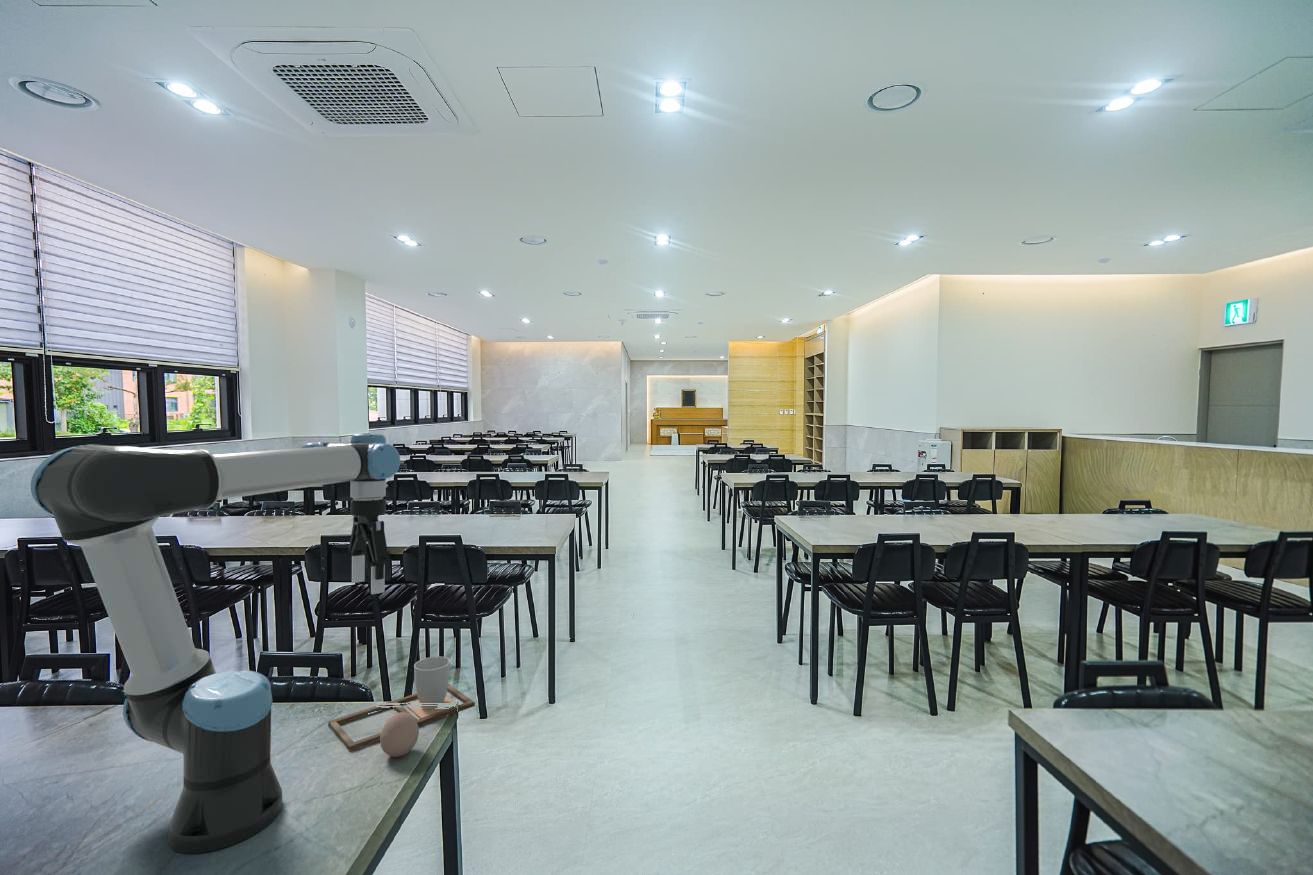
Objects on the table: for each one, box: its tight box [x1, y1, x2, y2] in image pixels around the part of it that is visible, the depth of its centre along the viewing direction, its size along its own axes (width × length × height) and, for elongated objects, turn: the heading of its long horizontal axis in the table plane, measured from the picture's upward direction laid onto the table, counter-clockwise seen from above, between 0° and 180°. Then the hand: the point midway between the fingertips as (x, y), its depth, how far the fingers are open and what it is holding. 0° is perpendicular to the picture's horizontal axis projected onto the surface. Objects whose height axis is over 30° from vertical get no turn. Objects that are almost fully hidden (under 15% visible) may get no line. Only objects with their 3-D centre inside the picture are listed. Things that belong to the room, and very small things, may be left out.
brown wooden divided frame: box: [327, 683, 476, 752], centre depth 130 cm, size 14×28×1 cm, turn 136°
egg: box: [379, 712, 420, 758], centre depth 114 cm, size 7×7×8 cm
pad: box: [407, 695, 455, 719], centre depth 134 cm, size 9×9×1 cm
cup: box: [413, 656, 451, 710], centre depth 134 cm, size 8×8×10 cm
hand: (367, 587), depth 133 cm, fingers open, 13 cm apart
